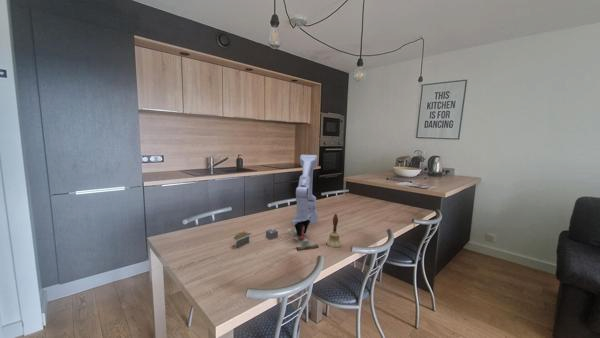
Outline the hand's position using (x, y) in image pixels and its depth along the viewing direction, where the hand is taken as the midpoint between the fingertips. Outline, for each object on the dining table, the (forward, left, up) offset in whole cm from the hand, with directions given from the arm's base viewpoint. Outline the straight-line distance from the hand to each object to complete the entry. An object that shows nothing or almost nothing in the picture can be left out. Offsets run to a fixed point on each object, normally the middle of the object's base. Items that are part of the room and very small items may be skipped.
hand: (301, 234), depth 128 cm
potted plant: (+30, -6, -4) cm, 31 cm away
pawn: (0, 0, -2) cm, 2 cm away
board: (0, -3, -4) cm, 5 cm away
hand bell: (-15, +8, -4) cm, 17 cm away
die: (+14, -7, -4) cm, 16 cm away
